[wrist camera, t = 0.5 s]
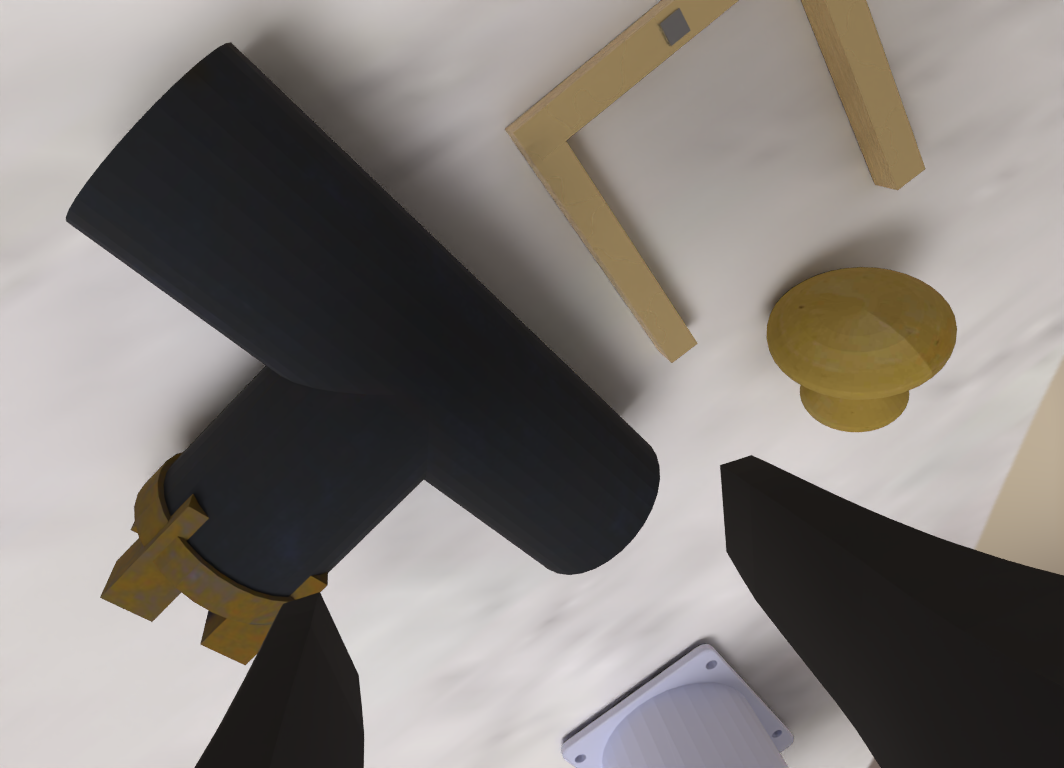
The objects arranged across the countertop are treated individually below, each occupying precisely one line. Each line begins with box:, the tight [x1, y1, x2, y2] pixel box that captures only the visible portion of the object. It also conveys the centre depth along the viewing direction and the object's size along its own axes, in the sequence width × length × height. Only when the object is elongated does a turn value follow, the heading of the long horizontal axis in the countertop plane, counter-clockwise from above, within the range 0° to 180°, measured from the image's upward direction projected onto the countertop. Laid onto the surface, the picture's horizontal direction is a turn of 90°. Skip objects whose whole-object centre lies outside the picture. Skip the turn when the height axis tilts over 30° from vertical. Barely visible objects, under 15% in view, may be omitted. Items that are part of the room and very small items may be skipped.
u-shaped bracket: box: [505, 0, 925, 363], centre depth 19 cm, size 8×10×1 cm
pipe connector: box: [66, 43, 660, 665], centre depth 18 cm, size 12×5×15 cm
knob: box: [767, 267, 957, 432], centre depth 21 cm, size 5×5×5 cm
